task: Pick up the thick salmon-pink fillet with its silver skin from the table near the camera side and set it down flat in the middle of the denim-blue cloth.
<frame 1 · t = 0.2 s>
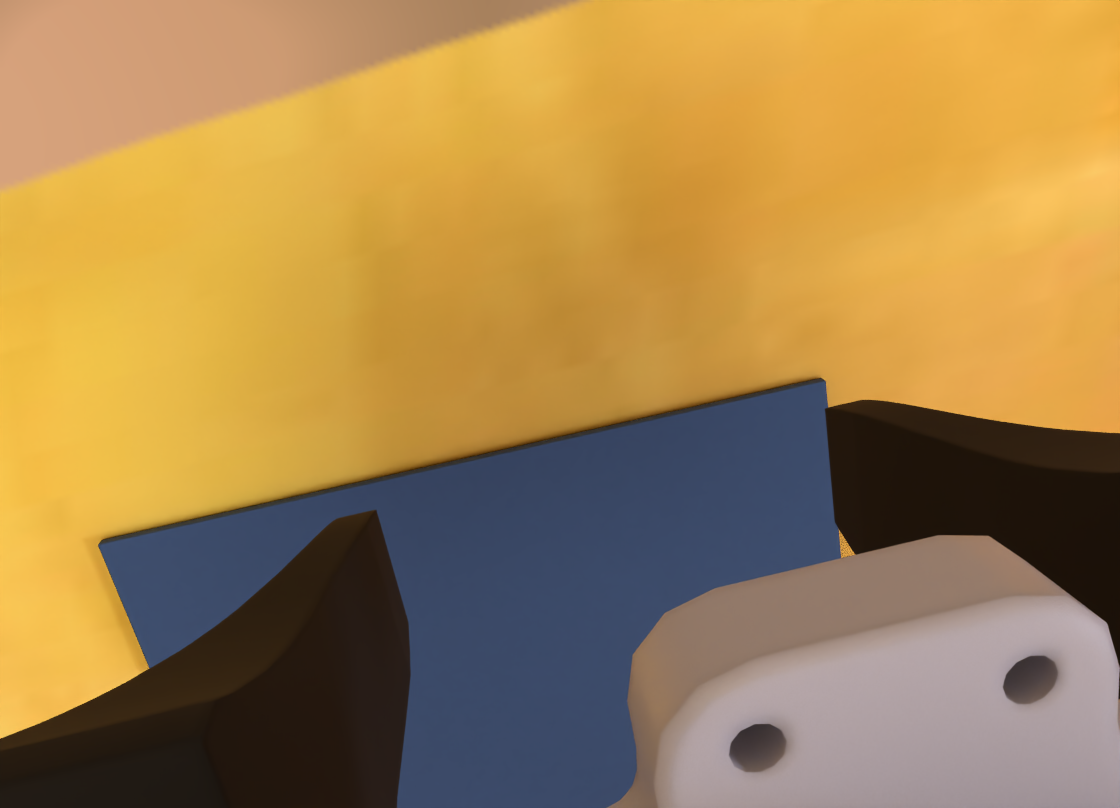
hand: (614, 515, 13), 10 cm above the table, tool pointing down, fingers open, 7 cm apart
cloth: (528, 694, 26), on the table
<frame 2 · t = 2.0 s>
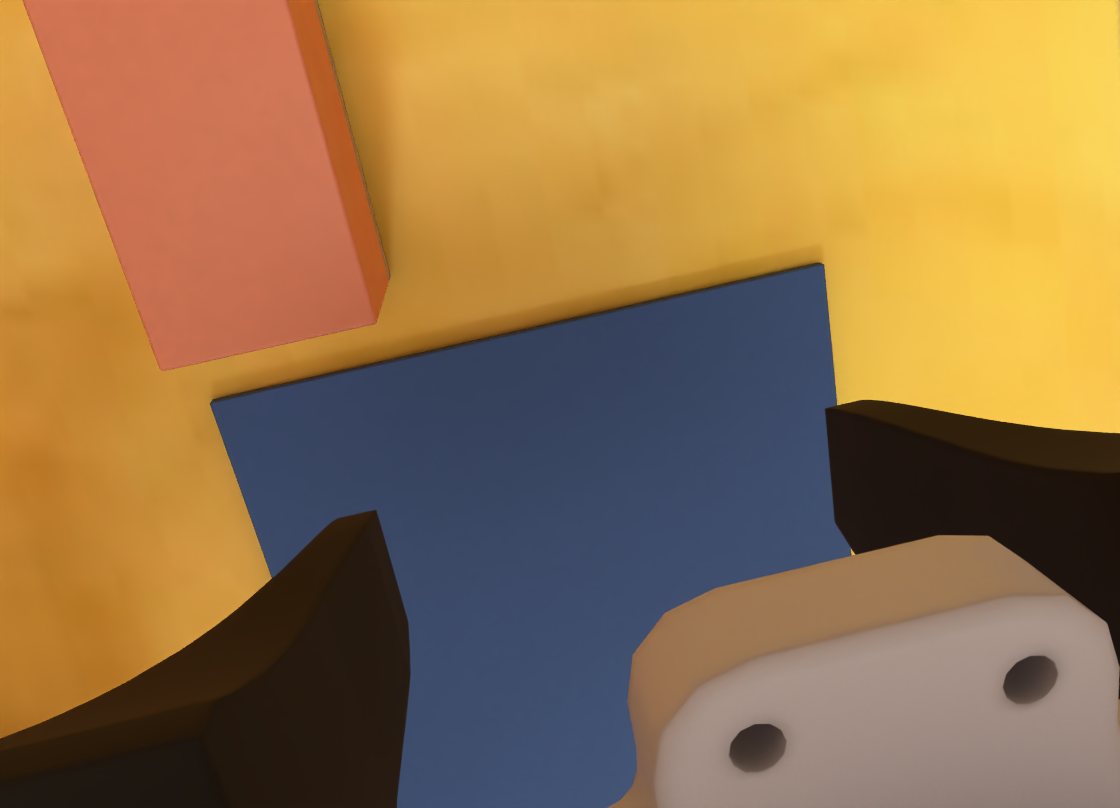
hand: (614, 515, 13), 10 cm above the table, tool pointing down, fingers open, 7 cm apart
salmon: (263, 151, 20), on the table
cloth: (592, 651, 26), on the table
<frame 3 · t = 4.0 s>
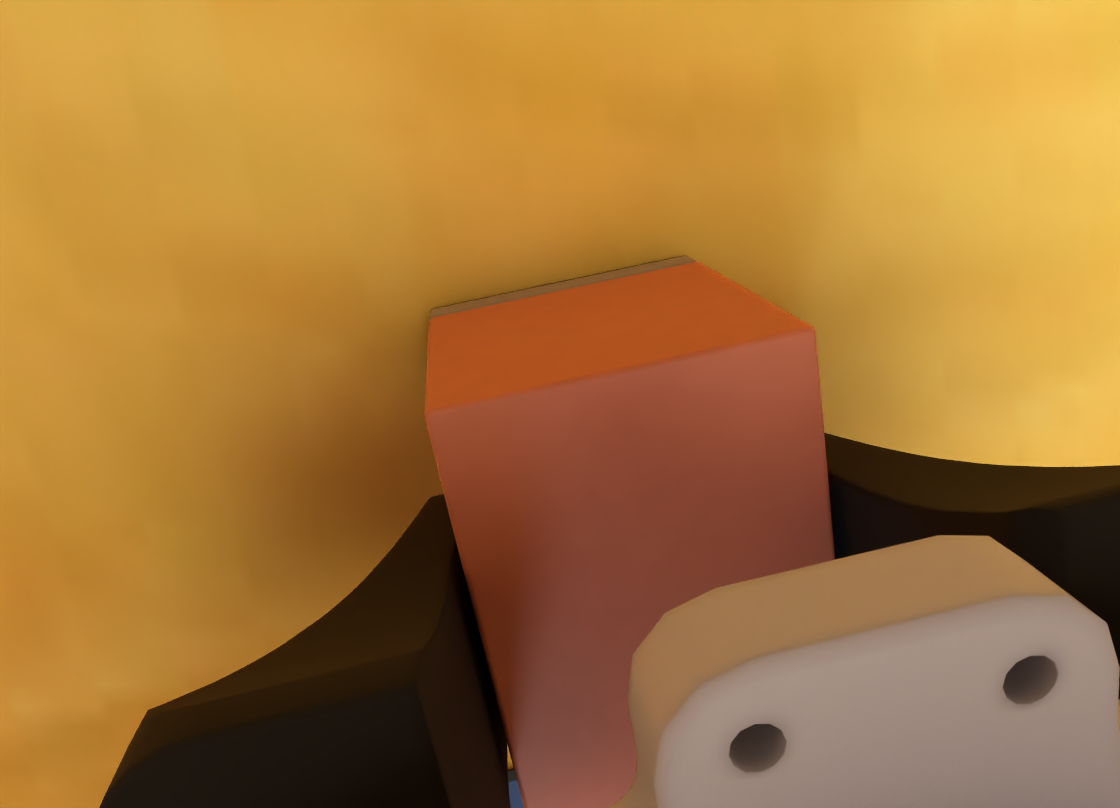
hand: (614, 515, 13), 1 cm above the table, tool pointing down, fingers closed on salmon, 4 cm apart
salmon: (596, 480, 15), on the table, touching gripper
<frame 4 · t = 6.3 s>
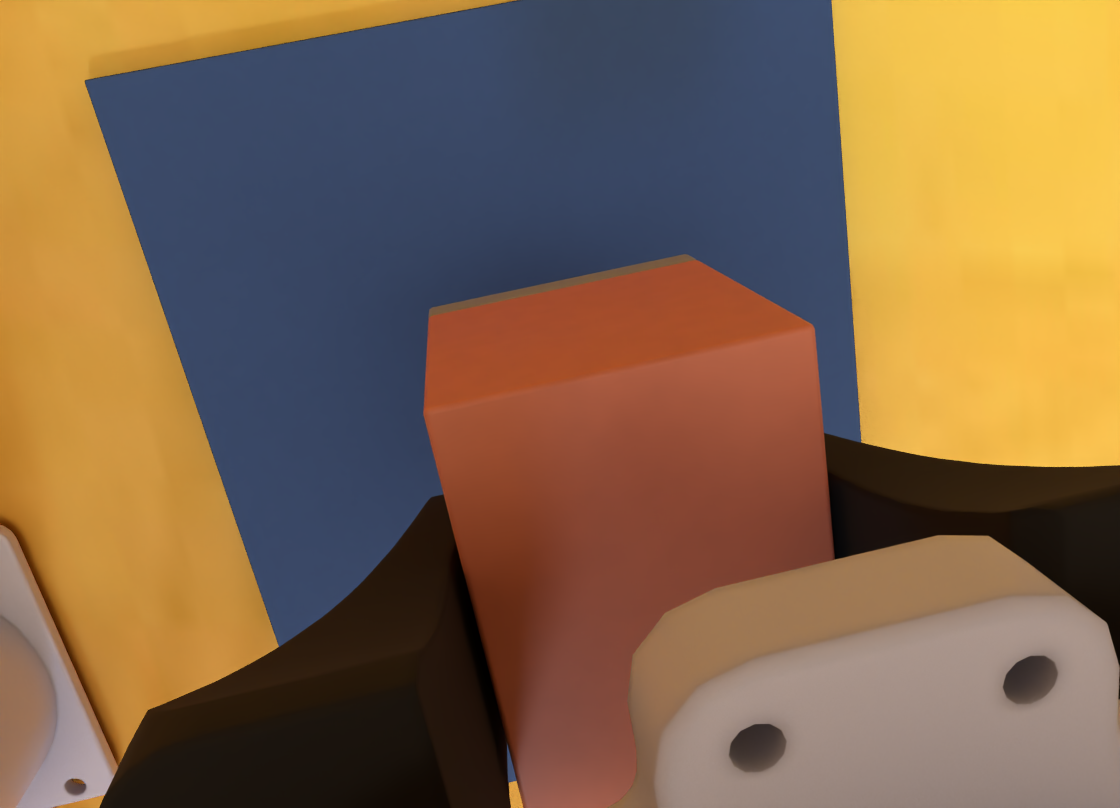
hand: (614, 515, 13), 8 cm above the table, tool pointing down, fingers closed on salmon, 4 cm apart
salmon: (596, 478, 15), point 7 cm above the table, touching gripper
cloth: (550, 436, 22), on the table
when the fingers open (2 cm above the table, at t = 8.5 s): salmon stays where it is, resting on cloth.
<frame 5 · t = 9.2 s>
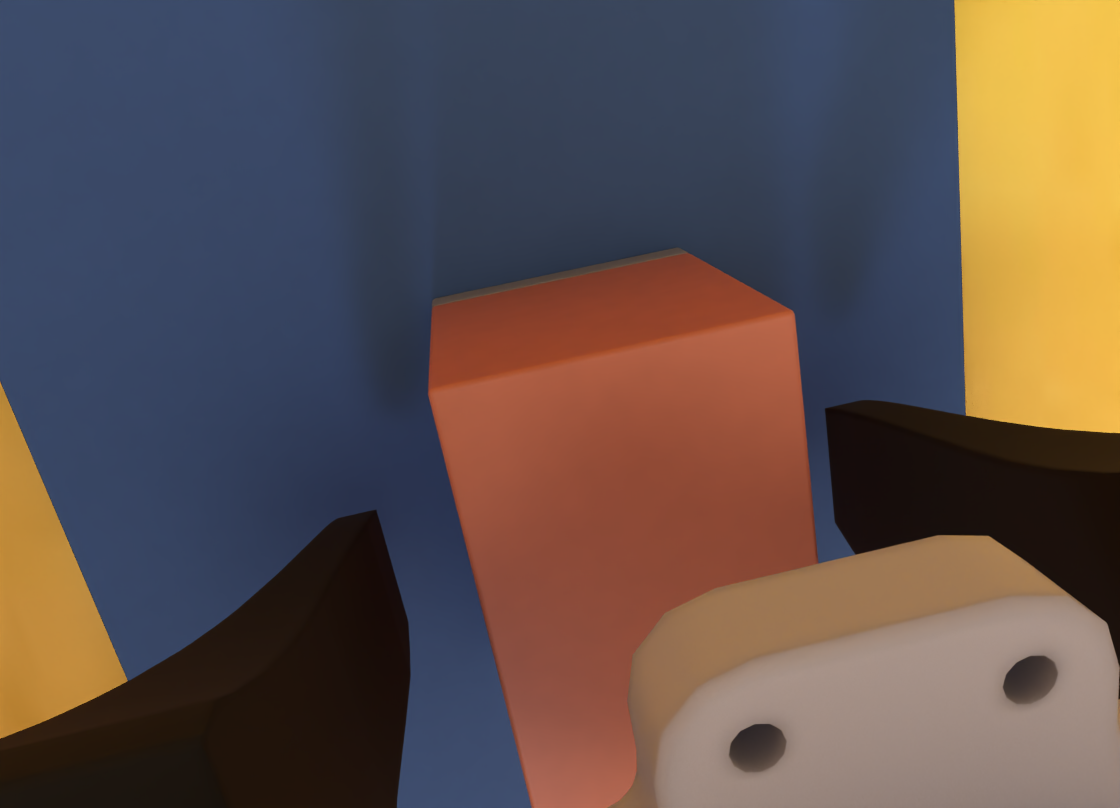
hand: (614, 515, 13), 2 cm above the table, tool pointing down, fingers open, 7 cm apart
salmon: (592, 463, 15), resting on cloth
cloth: (537, 470, 16), on the table
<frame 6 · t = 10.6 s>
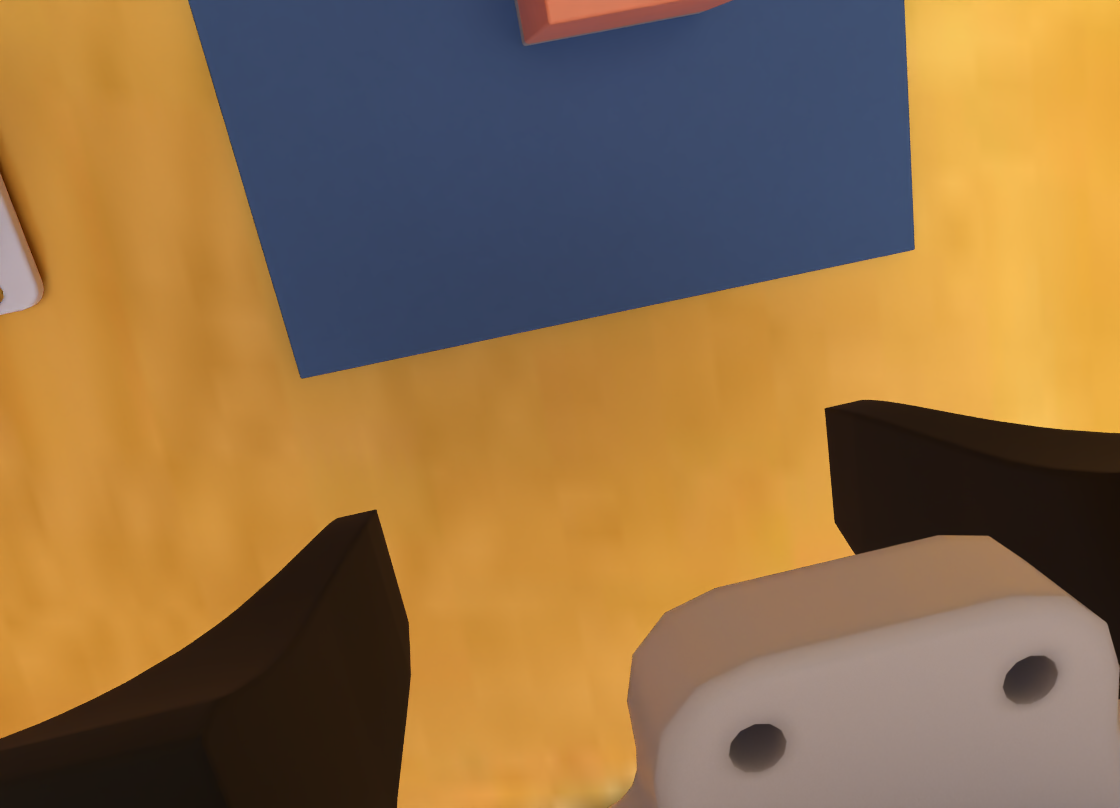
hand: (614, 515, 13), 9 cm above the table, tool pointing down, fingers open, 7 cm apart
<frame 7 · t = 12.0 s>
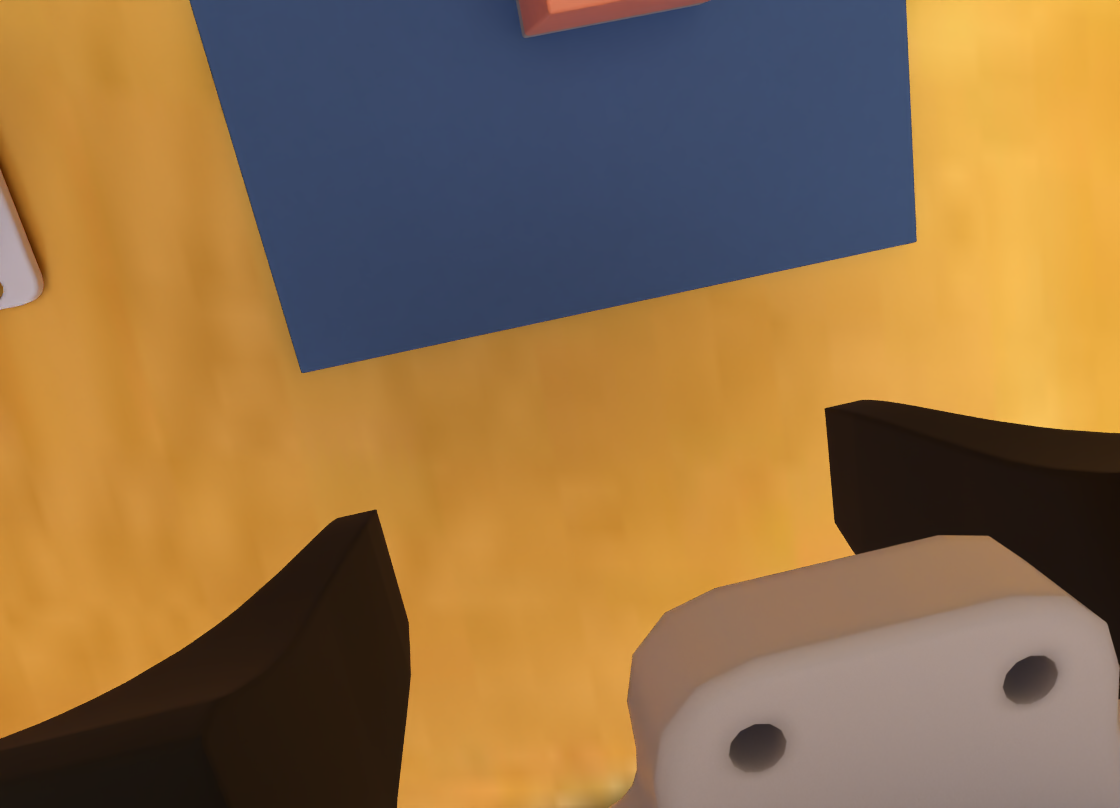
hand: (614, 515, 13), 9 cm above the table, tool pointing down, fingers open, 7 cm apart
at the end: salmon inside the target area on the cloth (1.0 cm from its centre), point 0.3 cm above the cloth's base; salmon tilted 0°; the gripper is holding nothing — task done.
